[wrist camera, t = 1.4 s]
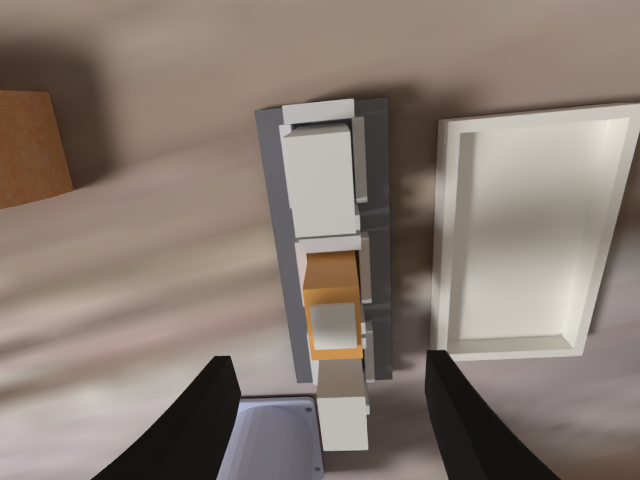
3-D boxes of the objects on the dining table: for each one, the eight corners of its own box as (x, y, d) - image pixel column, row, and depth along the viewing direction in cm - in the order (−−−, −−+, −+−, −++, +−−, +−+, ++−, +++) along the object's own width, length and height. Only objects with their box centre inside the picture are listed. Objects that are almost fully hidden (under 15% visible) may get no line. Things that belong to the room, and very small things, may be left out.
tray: (564, 337, 23) (581, 355, 22) (429, 343, 24) (436, 361, 22) (617, 102, 18) (646, 102, 16) (438, 119, 18) (448, 121, 17)
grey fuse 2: (360, 370, 24) (368, 450, 19) (326, 371, 24) (323, 451, 19) (357, 324, 23) (365, 396, 17) (321, 326, 23) (316, 398, 17)
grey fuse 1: (350, 195, 19) (356, 233, 14) (306, 198, 19) (295, 237, 14) (345, 121, 18) (350, 131, 12) (298, 126, 18) (282, 137, 12)
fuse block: (390, 372, 25) (399, 413, 22) (298, 375, 26) (293, 416, 22) (385, 95, 18) (397, 93, 15) (257, 108, 18) (240, 109, 15)
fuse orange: (355, 292, 22) (363, 361, 16) (317, 294, 22) (311, 363, 16) (352, 235, 20) (359, 288, 14) (311, 238, 20) (301, 292, 15)
